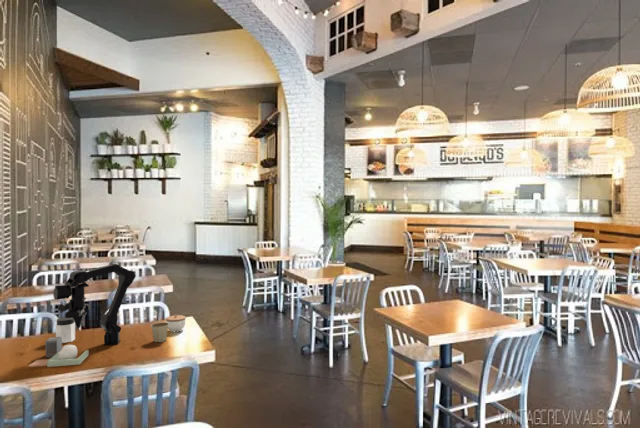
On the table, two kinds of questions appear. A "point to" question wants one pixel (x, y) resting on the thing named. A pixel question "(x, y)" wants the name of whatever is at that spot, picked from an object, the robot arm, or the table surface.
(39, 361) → the terracotta mat
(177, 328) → the lidded jar
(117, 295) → the robot arm
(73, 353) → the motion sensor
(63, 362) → the frame
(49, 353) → the grey block
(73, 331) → the jar
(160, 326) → the flower pot
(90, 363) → the table surface
